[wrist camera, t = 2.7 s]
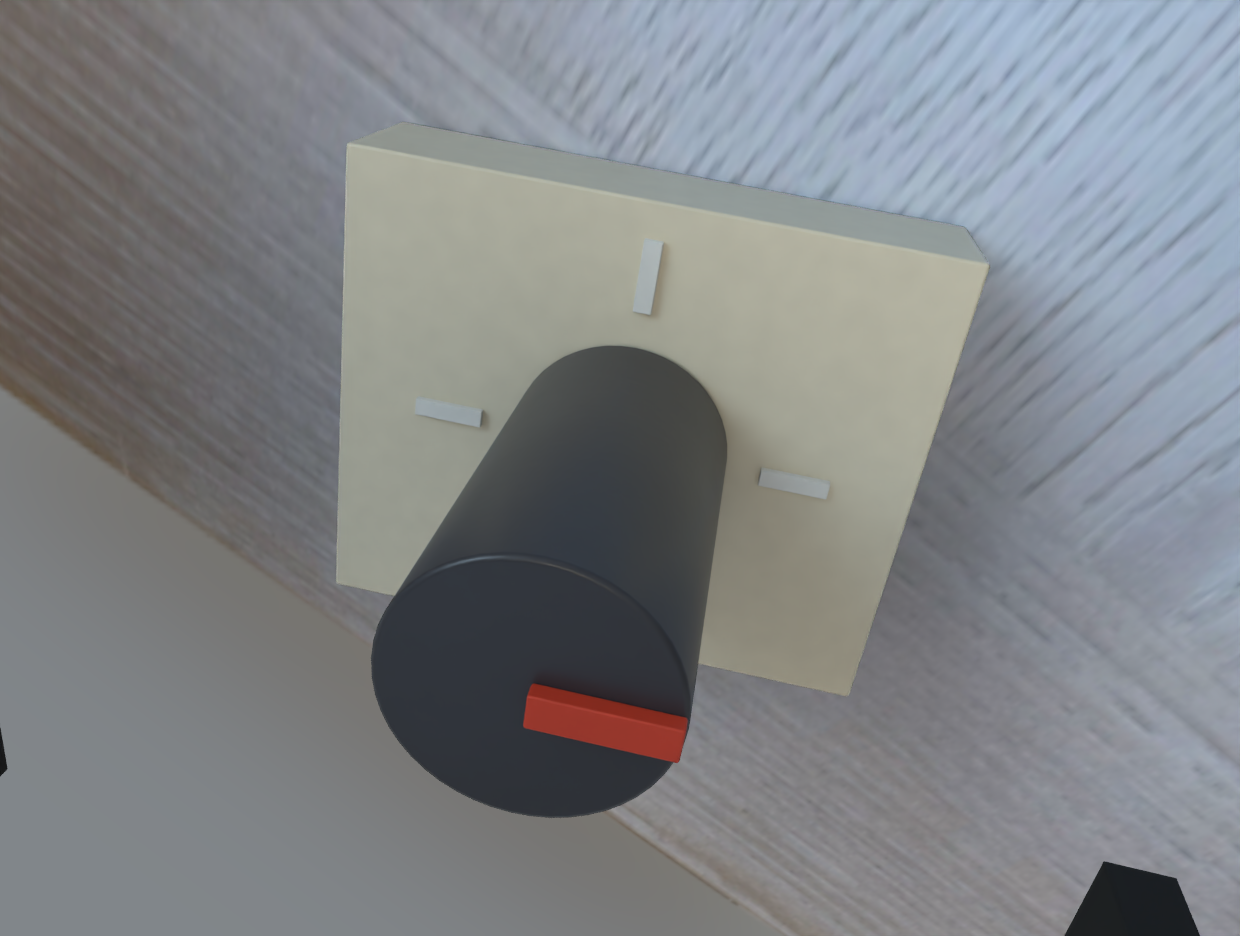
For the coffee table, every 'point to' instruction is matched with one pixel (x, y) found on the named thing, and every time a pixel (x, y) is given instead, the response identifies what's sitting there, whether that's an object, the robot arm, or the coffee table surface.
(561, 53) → the coffee table surface
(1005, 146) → the coffee table surface
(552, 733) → the dial
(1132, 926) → the robot arm
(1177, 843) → the coffee table surface
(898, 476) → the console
